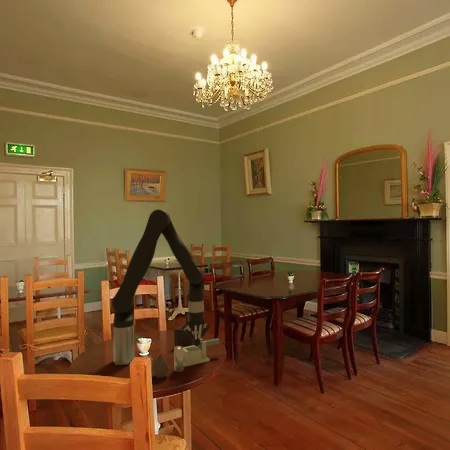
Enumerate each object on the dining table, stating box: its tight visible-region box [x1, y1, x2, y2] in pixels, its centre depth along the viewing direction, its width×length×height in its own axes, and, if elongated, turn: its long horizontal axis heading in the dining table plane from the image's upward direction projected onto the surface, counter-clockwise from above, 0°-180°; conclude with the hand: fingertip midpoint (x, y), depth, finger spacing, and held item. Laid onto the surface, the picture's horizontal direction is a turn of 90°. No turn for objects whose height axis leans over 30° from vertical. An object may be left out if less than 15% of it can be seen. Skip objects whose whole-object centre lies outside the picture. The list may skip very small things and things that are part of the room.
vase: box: [151, 354, 170, 379], centre depth 153 cm, size 7×7×9 cm
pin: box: [199, 338, 220, 347], centre depth 174 cm, size 10×2×2 cm, turn 118°
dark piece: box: [173, 314, 194, 348], centre depth 192 cm, size 16×11×18 cm
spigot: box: [173, 346, 184, 373], centre depth 159 cm, size 4×4×10 cm
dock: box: [183, 338, 211, 368], centre depth 170 cm, size 13×10×8 cm
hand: (196, 346), depth 171 cm, fingers closed
